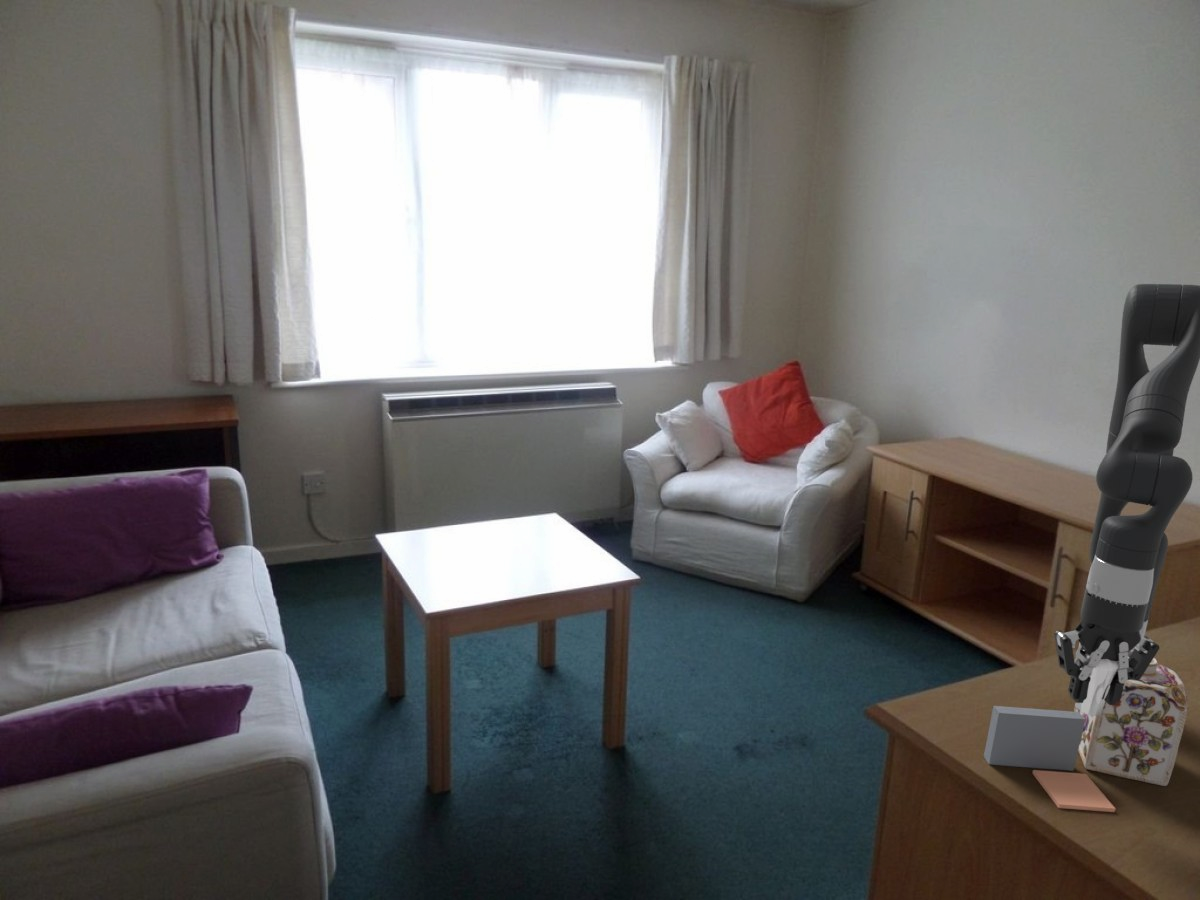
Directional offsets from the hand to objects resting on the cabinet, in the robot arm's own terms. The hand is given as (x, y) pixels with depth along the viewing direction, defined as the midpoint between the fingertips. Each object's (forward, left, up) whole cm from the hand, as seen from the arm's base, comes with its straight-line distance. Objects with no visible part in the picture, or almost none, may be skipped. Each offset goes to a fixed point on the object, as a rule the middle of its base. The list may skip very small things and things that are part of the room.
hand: (1092, 700), depth 119 cm
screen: (+3, -6, -15) cm, 17 cm away
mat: (0, 0, -15) cm, 15 cm away
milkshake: (0, 0, -2) cm, 2 cm away
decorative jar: (-12, -10, -15) cm, 22 cm away
